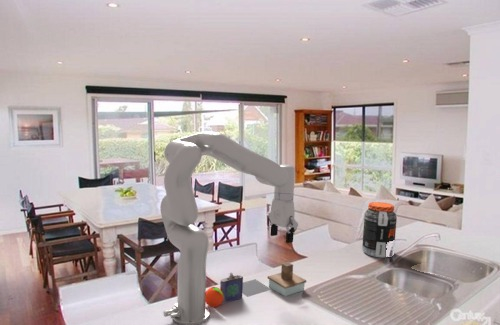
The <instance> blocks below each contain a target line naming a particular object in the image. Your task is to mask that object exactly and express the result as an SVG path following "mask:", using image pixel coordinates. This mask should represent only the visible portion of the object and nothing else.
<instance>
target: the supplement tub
mask: <svg viewBox="0 0 500 325" xmlns="http://www.w3.org/2000/svg"><path fill="white" fill-rule="evenodd" d="M367 207H368V208H367V209H366V210H365V213H364V215H363V216H364V218H363V232H362V245H361V247H362V248H361V249H362V251H363V253H365V254H366V255H369V256H371V257H374V258H381V259H383V258H384V259H385V258H387V257H386V250H387V248H386V244H387V242H389V241H393V240H395V241H396V230H397V220H398V219H397V214H396V213H395V212H394V211H395V206H394V205H393V204H392V203H388V202H380V201H371V202H369V203H368V206H367Z"/></svg>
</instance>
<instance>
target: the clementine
mask: <svg viewBox="0 0 500 325" xmlns="http://www.w3.org/2000/svg"><path fill="white" fill-rule="evenodd" d="M223 298H224V296H223V292H222V291H221V289H220V287H218V286H211V287H210V288H207V289H206V304H205V305H207V306H209V307H210V308H217V307H219V306H221V304H223V303H222V301H223Z"/></svg>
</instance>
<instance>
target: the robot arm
mask: <svg viewBox="0 0 500 325" xmlns="http://www.w3.org/2000/svg"><path fill="white" fill-rule="evenodd" d="M163 155H164V158H165V160H166V161H167V162H168V163H169V164H168V165H167V168H166V171H165V173H164V176H163V177H164V178H163V184H164V190H165V193H166V194H165V195H164V197H163V198H162V199H161V202H160V206H159V207H160V214H161V219H162V223H163V225H164V229H165V233H166V236H167V238H168V240H169V242H170V243H171V244H172V245H173V246H174V247H175V248H177V249H178V250H179V252H180V253H179V258H178V261H177V300H176V301H177V303H174V307H172V308H171V309H167V310H164V311H163V312H162V313H163V317H164V318H165V317H166V318H167V317H170V319H172V320H173V321H174V322H175V323H177V324H180V325H201V324H204V323H205V322H207V321H208V320H209V318H210V316H211V310H210V309H209V308H208V307H207V306H206V305H207V304H206V291H207V288H206V286H207V257H208V251H209V246H210V241H209V237H208V234H207V233H206V231H204V230H203V229H202V228H201V227H199V226H197V225H195V224H194V223H196V221H197V219H198V217H199V209H198V205H197V200H196V197H195V194H194V190H193V185H192V177H193V175H194V174H193V173H194V172H195V170H196V168H197V167H198V166H199V164H200V163H201V161H202V156H208V157H211V158H213V159H215V160H218V162H220V163H223V164H225V165H226V166H228V167H230V168H231V169H234V170H236V171H238V172H241V173H244V174H246V175H251V176H253V177H255V179H256V180H257V182H259V183H261V184H263V185H267V186H271V187H274V193H273V198H272V201H271V206H270V212H269V213H268V214H267V215H268V221H269V226H270V234H269V236H270V237H274V236H278V232H279V231H278V230H279V227H281V228H285V230H286V233H285V243H286V244H291V243H293V242H294V233H295V232H296V231H297V229H298V226H299V222H298V221H296V219H295V203H294V193H295V192H294V191H295V174H296V173H295V172H296V169H295V168H296V167H295V166H293V165H292V164H278V163H277V162H275V161H274V160H272V159H270V158H268V157H265V156H263V155H261V154H259V153H257V152H255V151H253V150H251V149H248V147H245V146H244V145H242V144H241V143H238V142H237V141H235V140H233V139H231V137H229V136H227V135H225V134H223V133H221V132H217V131H208V130H206V131H200V132H197V133H194V134H190V135H187V136H184V137H181V138H177V139H175V140H172V141H170V142H169V143H168V144H166V146H165V147H164V153H163Z"/></svg>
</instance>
